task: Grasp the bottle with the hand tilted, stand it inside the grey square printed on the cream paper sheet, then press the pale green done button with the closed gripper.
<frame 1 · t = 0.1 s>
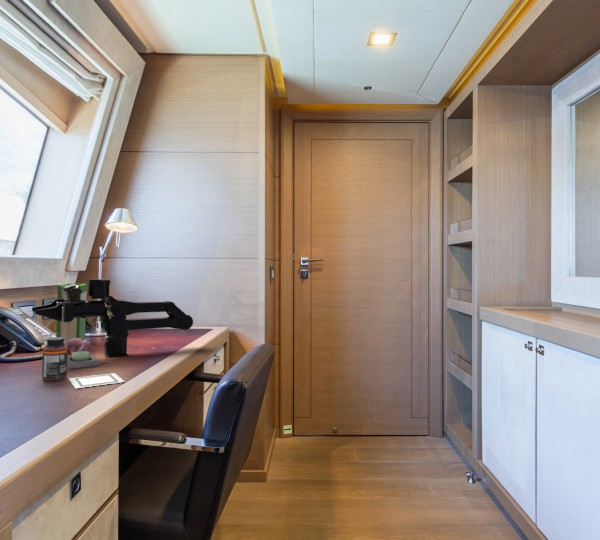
hand: (33, 310, 132), 17 cm above the table, tool horizontal, fingers open, 9 cm apart
button housing: (80, 364, 132), on the table
paper sheet: (96, 381, 114), on the table
hardback book: (71, 347, 160), on the table
done button: (81, 356, 132), point 3 cm above the table, slide at 0.0 cm
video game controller: (74, 355, 146), on the table
supplement bottle: (54, 379, 115), on the table
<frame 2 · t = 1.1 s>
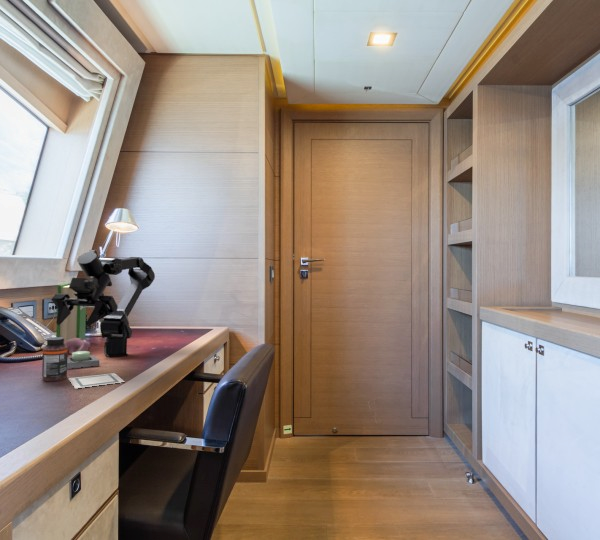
hand: (72, 324, 123), 14 cm above the table, tool tilted 45°, fingers open, 9 cm apart
nothing on the table moved.
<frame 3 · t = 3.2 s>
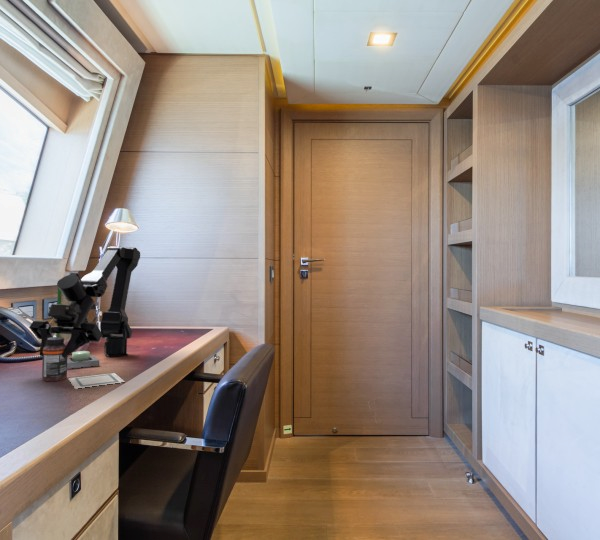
hand: (52, 356, 113), 7 cm above the table, tool tilted 45°, fingers closed on supplement bottle, 6 cm apart
supplement bottle: (54, 379, 115), on the table, touching gripper
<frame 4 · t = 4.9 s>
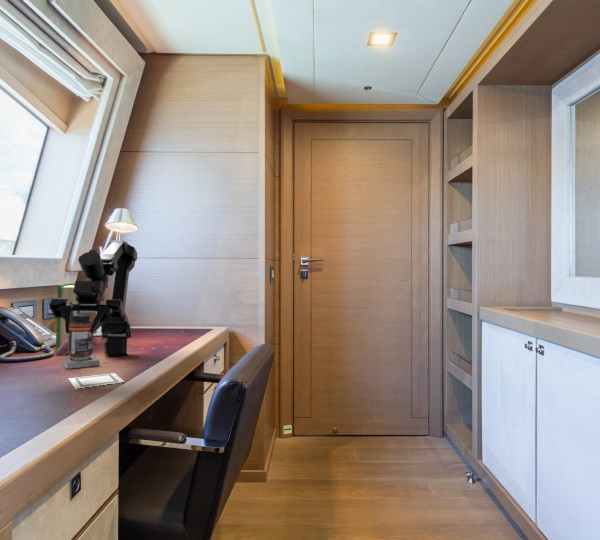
hand: (79, 332, 112), 13 cm above the table, tool tilted 45°, fingers closed on supplement bottle, 6 cm apart
supplement bottle: (80, 356, 114), point 7 cm above the table, touching gripper
when the fingers open (8 cm above the table, at t = 6.7 s): supplement bottle drops 1 cm, resting on paper sheet.
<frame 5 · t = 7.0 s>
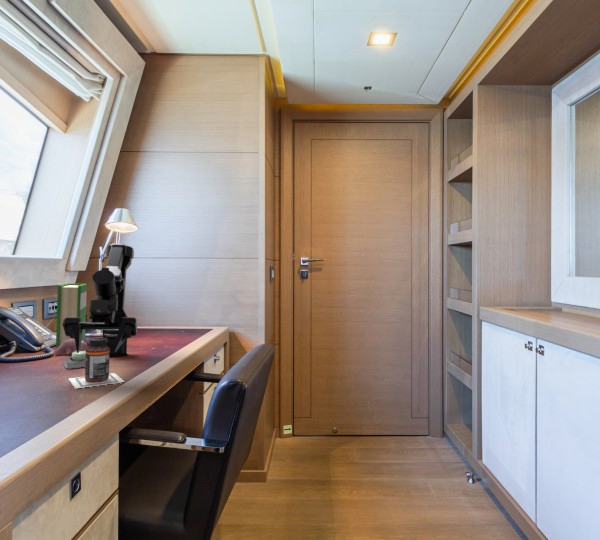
hand: (96, 351, 113), 8 cm above the table, tool tilted 45°, fingers open, 9 cm apart
supplement bottle: (96, 380, 114), resting on paper sheet
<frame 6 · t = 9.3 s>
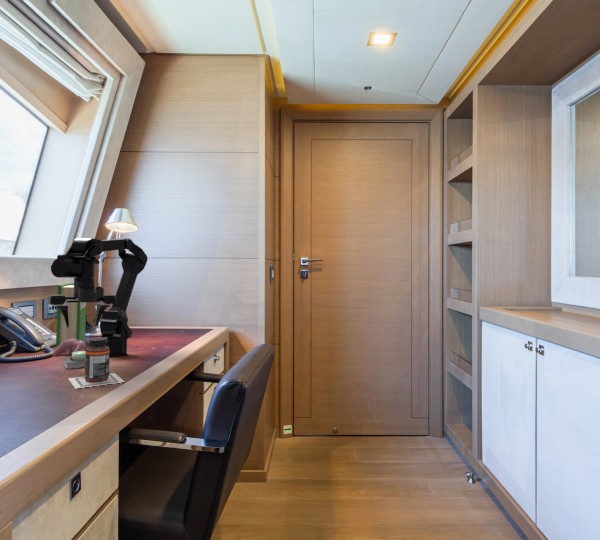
hand: (82, 326, 132), 12 cm above the table, tool pointing down, fingers open, 8 cm apart
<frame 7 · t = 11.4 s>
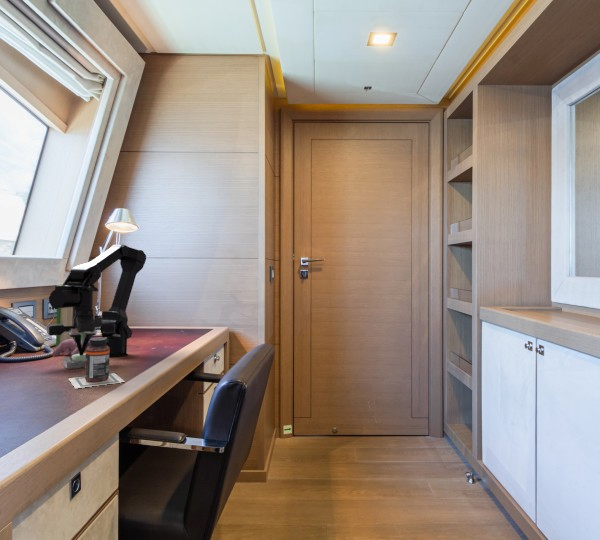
hand: (81, 355, 132), 3 cm above the table, tool pointing down, fingers closed, pressing on done button
done button: (80, 358, 132), point 2 cm above the table, slide at 0.8 cm, touching gripper
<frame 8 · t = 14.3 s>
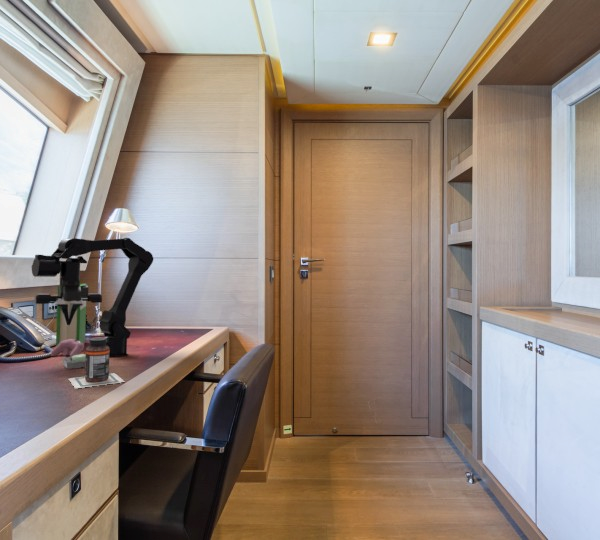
hand: (68, 325, 135), 12 cm above the table, tool pointing down, fingers closed
done button: (80, 359, 132), point 2 cm above the table, slide at 1.1 cm
at the end: supplement bottle inside the target area on the paper sheet (0.2 cm from its centre), point 0.1 cm above the paper sheet's base; supplement bottle tilted 0°; done button slide at 1.1 cm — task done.
